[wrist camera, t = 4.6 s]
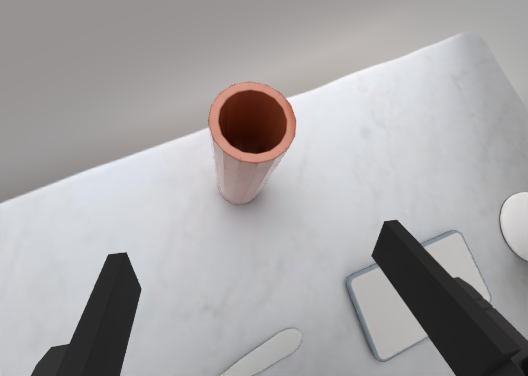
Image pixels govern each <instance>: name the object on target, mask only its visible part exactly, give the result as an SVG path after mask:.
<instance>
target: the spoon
mask: <svg viewBox="0 0 528 376" xmlns="http://www.w3.org/2000/svg"><path fill="white" fill-rule="evenodd" d="M301 341H302V333H301V331H299V330H298V329H294V328H289V329H286V330H283V331H281V332H279V333H278V334H276V335H275V336H274V337H272V338H271V339H269V340H268V341H266V342H265V343H263V344H262V345H260V346H259V347H257V348H256V349H254V350H253V351H251V352H250V353H249V354H247V355H246V356H244V357H243V358H241V359H240V360H239V361H238V362H236V363H235V364H234V365H233V366H231V367H230V368H229V369H228V370H226V371H225V372H224V373H223V374H221V375H220V376H253V375H255V374H257V373H258V372H260V371H262V370H263V369H265V368H267V367H269V366H270V365H272V364H274V363H275V362H277V361H279V360H281V359H283V358H284V357H286V356H288V355H290V354H291V353H293V352H294V351H295V350H296V349H297V348H298V347H299V346H300V343H301Z"/></svg>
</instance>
